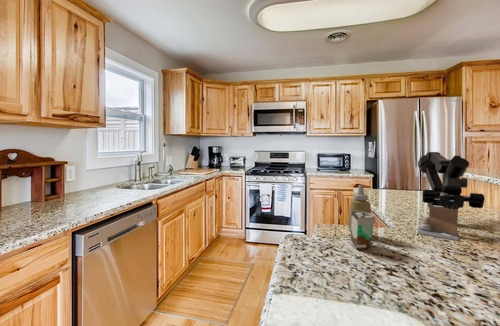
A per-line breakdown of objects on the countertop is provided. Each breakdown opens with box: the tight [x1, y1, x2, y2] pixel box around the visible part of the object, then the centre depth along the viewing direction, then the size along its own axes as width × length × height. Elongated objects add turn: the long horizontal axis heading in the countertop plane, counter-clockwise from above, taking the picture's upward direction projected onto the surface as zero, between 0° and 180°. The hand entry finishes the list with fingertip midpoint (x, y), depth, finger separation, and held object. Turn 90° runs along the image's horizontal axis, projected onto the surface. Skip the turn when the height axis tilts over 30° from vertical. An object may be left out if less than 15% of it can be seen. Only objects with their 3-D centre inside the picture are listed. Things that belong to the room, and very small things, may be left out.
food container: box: [350, 210, 376, 251], centre depth 82 cm, size 12×6×10 cm, turn 168°
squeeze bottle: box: [347, 184, 372, 234], centre depth 94 cm, size 8×8×18 cm
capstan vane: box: [419, 205, 459, 235], centre depth 99 cm, size 4×12×9 cm, turn 39°
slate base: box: [417, 225, 460, 242], centre depth 99 cm, size 14×12×1 cm
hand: (451, 216), depth 97 cm, fingers closed
